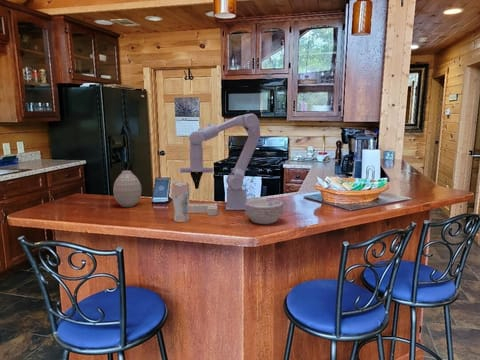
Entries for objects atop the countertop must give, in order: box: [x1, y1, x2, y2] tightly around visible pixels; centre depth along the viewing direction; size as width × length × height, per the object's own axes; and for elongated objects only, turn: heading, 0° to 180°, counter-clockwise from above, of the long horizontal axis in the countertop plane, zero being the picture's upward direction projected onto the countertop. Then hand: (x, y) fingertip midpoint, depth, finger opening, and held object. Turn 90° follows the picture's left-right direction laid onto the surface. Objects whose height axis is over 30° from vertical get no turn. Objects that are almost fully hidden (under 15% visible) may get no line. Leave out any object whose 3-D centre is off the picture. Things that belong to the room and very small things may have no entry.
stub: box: [207, 205, 218, 216], centre depth 160 cm, size 4×5×3 cm
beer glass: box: [171, 182, 191, 223], centre depth 150 cm, size 7×7×15 cm
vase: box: [112, 170, 142, 208], centre depth 176 cm, size 13×13×17 cm
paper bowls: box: [244, 198, 284, 225], centre depth 149 cm, size 15×15×8 cm
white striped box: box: [188, 202, 218, 214], centre depth 166 cm, size 13×6×3 cm, turn 91°
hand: (196, 188), depth 167 cm, fingers closed
